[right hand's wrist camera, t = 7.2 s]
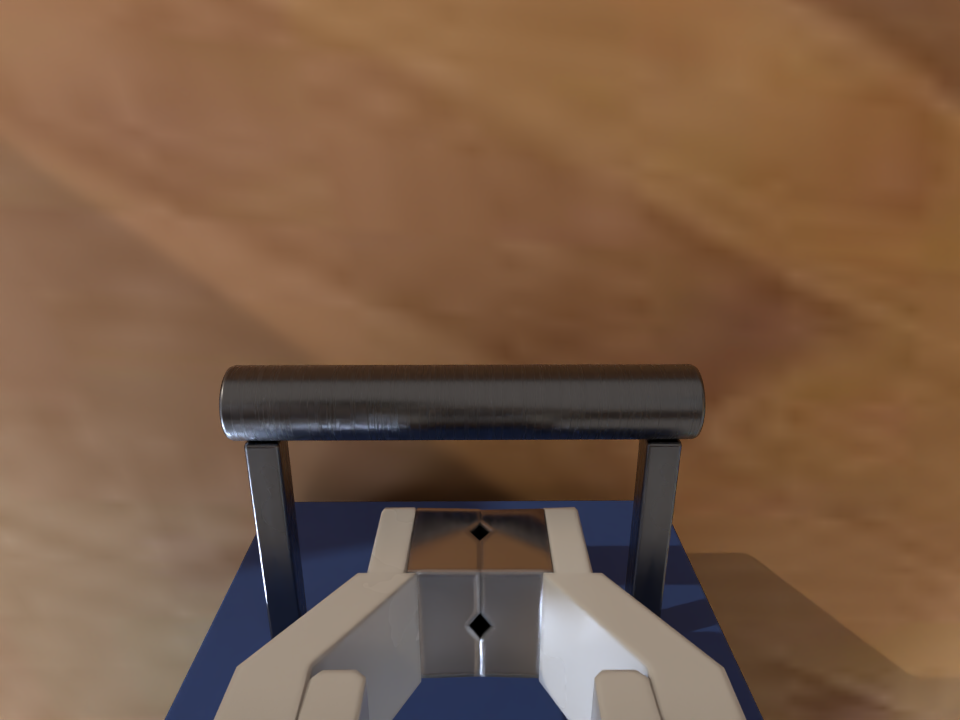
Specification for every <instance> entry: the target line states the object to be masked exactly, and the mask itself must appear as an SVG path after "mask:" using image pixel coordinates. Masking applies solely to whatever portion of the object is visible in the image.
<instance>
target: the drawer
mask: <svg viewBox="0 0 960 720" xmlns="http://www.w3.org/2000/svg"><path fill="white" fill-rule="evenodd" d="M219 413H220V420H221V425H222V429H223V431H224V433H225V435H226V436H227V438H229V439H231V440H233V441H247V442H246V443H245V446H244V448H245V455H246V462H247V469H248V476H249V484H250V491H251V498H252V505H253V512H254V519H255V527H256V535H255V537H254V539H253V541H252V543H251V545H250V547H249V549H248V551H247V553H246V555H245V557H244V559H243V561H242V563H241V565H240V568H239V570H238V572H237V574H236V576H235V578H234V580H233V582H232V584H231V586H230V588H229V590H228V592H227V594H226V596H225V598H224V600H223V602H222V604H221V606H220V608H219V610H218V612H217V614H216V616H215V618H214V620H213V622H212V624H211V626H210V628H209V631H208V633H207V635H206V637H205V639H204V641H203V643H202V645H201V647H200V649H199V651H198V653H197V655H196V657H195V659H194V661H193V663H192V665H191V667H190V669H189V671H188V673H187V675H186V677H185V679H184V681H183V683H182V685H181V687H180V689H179V691H178V694H177V696H176V698H175V700H174V702H173V704H172V706H171V708H170V710H169V712H168V714H167V716H166V718H165V720H214V718H215V716H216V713H217V711H218V709H219V706H220V704H221V702H222V699H223V697H224V695H225V692H226V690H227V688H228V686H229V683H230V681H231V679H232V676H233V674H234V672H235V669H236V667H237V666H238V665H240V664H241V663H242V662H243V661H245V660H246V659H247V658H249V657H250V656H251V655H252V654H254V653H255V652H256V651H258V650H259V649H260V648H262V647H263V646H264V645H265V644H267V643H268V642H269V641H271V640H272V639H273V638H274V637H276V636H277V635H278V634H280V633H281V632H282V631H283V630H285V629H286V628H287V627H289V626H290V625H291V624H293V623H294V622H295V621H296V620H298V619H299V618H300V617H302V616H303V615H304V614H305V613H307V612H308V611H309V610H311V609H312V608H313V607H314V606H316V605H317V604H318V603H320V602H321V601H322V600H324V599H325V598H326V597H327V596H329V595H330V594H331V593H333V592H334V591H335V590H336V589H338V588H339V587H340V586H342V585H343V584H344V583H345V582H347V581H348V580H349V579H351V578H352V577H353V576H355V575H356V574H357V573H367V571H368V567H369V563H370V559H371V555H372V550H373V546H374V542H375V538H376V534H377V529H378V525H379V521H380V517H381V513H382V511H383V510H384V509H385V508H399V507H415V508H416V509H417V508H459V509H480V510H499V509H543V508H561V507H575V508H576V509H577V510H578V513H579V518H580V522H581V526H582V530H583V534H584V538H585V542H586V547H587V551H588V555H589V559H590V563H591V567H592V571H593V573H603V574H604V575H606V576H607V577H608V578H609V579H611V580H612V581H613V582H615V583H616V584H617V585H618V586H620V587H621V588H622V589H624V590H625V591H626V592H627V593H629V594H630V595H631V596H632V597H634V598H635V599H636V600H638V601H639V602H640V603H641V604H643V605H644V606H645V607H647V608H648V609H649V610H650V611H652V612H653V613H654V614H656V615H657V616H658V617H659V618H661V619H662V620H663V621H665V622H666V623H667V624H668V625H670V626H671V627H672V628H674V629H675V630H676V631H677V632H679V633H680V634H681V635H683V636H684V637H685V638H686V639H688V640H689V641H690V642H692V643H693V644H694V645H695V646H697V647H698V648H699V649H701V650H702V651H703V652H704V653H706V654H707V655H708V656H710V657H711V658H712V659H713V660H715V661H716V662H717V663H719V664H720V665H721V666H722V667H724V669H725V671H726V673H727V676H728V678H729V680H730V683H731V685H732V687H733V690H734V692H735V694H736V697H737V699H738V701H739V704H740V706H741V708H742V711H743V713H744V715H745V718H746V720H763V718H762V716H761V713H760V711H759V709H758V707H757V705H756V703H755V701H754V698H753V696H752V694H751V692H750V690H749V688H748V686H747V683H746V681H745V679H744V677H743V675H742V673H741V671H740V668H739V666H738V664H737V662H736V660H735V658H734V656H733V653H732V651H731V649H730V647H729V645H728V643H727V641H726V638H725V636H724V634H723V632H722V630H721V628H720V626H719V623H718V621H717V619H716V617H715V615H714V613H713V611H712V608H711V606H710V604H709V602H708V600H707V598H706V596H705V593H704V591H703V589H702V587H701V585H700V583H699V581H698V578H697V576H696V574H695V572H694V570H693V568H692V566H691V563H690V561H689V559H688V557H687V555H686V553H685V551H684V548H683V546H682V544H681V542H680V540H679V538H678V536H677V533H676V531H675V529H674V527H673V525H672V520H673V512H674V503H675V495H676V487H677V479H678V471H679V463H680V455H681V447H682V444H681V442H680V440H679V439H693V438H696V437H697V436H698V435H699V434H700V432H701V429H702V426H703V422H704V416H705V391H704V385H703V381H702V378H701V375H700V372H699V370H698V369H697V368H696V367H695V366H693V365H690V364H643V365H236V366H233V367H230V368H229V369H228V370H227V371H226V373H225V375H224V378H223V381H222V385H221V389H220V397H219ZM579 439H640V442H639V452H638V462H637V472H636V482H635V493H634V501H422V502H294V493H293V485H292V476H291V467H290V458H289V449H288V441H295V440H579ZM393 720H568V719H567V718H566V716H565V715H564V714H563V712H562V711H561V710H560V708H559V707H558V706H557V704H556V703H555V702H554V700H553V699H552V698H551V696H550V695H549V694H548V692H547V691H546V690H545V689H544V687H543V686H542V685H541V683H540V682H539V678H511V677H448V678H421V683H420V684H419V685H418V687H417V688H416V689H415V691H414V692H413V693H412V694H411V696H410V697H409V698H408V700H407V701H406V702H405V704H404V705H403V706H402V708H401V709H400V710H399V712H398V713H397V714H396V716H395V717H394V718H393Z"/></svg>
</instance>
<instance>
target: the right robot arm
mask: <svg viewBox="0 0 960 720" xmlns="http://www.w3.org/2000/svg"><path fill="white" fill-rule="evenodd" d="M448 677H511V678H539V682H540V683H541V685H542V686H543V687H544V689H545V690H546V691H547V692H548V694H549V695H550V696H551V698H552V699H553V700H554V702H555V703H556V704H557V706H558V707H559V708H560V710H561V711H562V712H563V714H564V715H565V716H566V718H567V719H568V720H746V718H745V715H744V713H743V711H742V708H741V706H740V704H739V701H738V699H737V697H736V694H735V692H734V690H733V687H732V685H731V683H730V680H729V678H728V676H727V673H726V671H725V669H724V667H722V666H721V665H720V664H719V663H717V662H716V661H715V660H713V659H712V658H711V657H710V656H708V655H707V654H706V653H704V652H703V651H702V650H701V649H699V648H698V647H697V646H695V645H694V644H693V643H692V642H690V641H689V640H688V639H686V638H685V637H684V636H683V635H681V634H680V633H679V632H677V631H676V630H675V629H674V628H672V627H671V626H670V625H668V624H667V623H666V622H665V621H663V620H662V619H661V618H659V617H658V616H657V615H656V614H654V613H653V612H652V611H650V610H649V609H648V608H647V607H645V606H644V605H643V604H641V603H640V602H639V601H638V600H636V599H635V598H634V597H632V596H631V595H630V594H629V593H627V592H626V591H625V590H624V589H622V588H621V587H620V586H618V585H617V584H616V583H615V582H613V581H612V580H611V579H609V578H608V577H607V576H606V575H604V574H603V573H593V571H592V567H591V563H590V559H589V555H588V551H587V547H586V542H585V538H584V534H583V530H582V526H581V522H580V518H579V513H578V510H577V509H576V508H575V507H561V508H543V509H499V510H480V509H459V508H417V509H416V508H415V507H399V508H385V509H384V510H383V511H382V513H381V517H380V521H379V525H378V529H377V534H376V538H375V542H374V546H373V550H372V555H371V559H370V563H369V567H368V571H367V573H357V574H356V575H355V576H353V577H352V578H351V579H349V580H348V581H347V582H345V583H344V584H343V585H342V586H340V587H339V588H338V589H336V590H335V591H334V592H333V593H331V594H330V595H329V596H327V597H326V598H325V599H324V600H322V601H321V602H320V603H318V604H317V605H316V606H314V607H313V608H312V609H311V610H309V611H308V612H307V613H305V614H304V615H303V616H302V617H300V618H299V619H298V620H296V621H295V622H294V623H293V624H291V625H290V626H289V627H287V628H286V629H285V630H283V631H282V632H281V633H280V634H278V635H277V636H276V637H274V638H273V639H272V640H271V641H269V642H268V643H267V644H265V645H264V646H263V647H262V648H260V649H259V650H258V651H256V652H255V653H254V654H252V655H251V656H250V657H249V658H247V659H246V660H245V661H243V662H242V663H241V664H240V665H238V666H237V667H236V669H235V672H234V674H233V676H232V679H231V681H230V683H229V686H228V688H227V690H226V692H225V695H224V697H223V699H222V702H221V704H220V706H219V709H218V711H217V713H216V716H215V718H214V720H393V718H394V717H395V716H396V714H397V713H398V712H399V710H400V709H401V708H402V706H403V705H404V704H405V702H406V701H407V700H408V698H409V697H410V696H411V694H412V693H413V692H414V691H415V689H416V688H417V687H418V685H419V684H420V683H421V678H448Z"/></svg>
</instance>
